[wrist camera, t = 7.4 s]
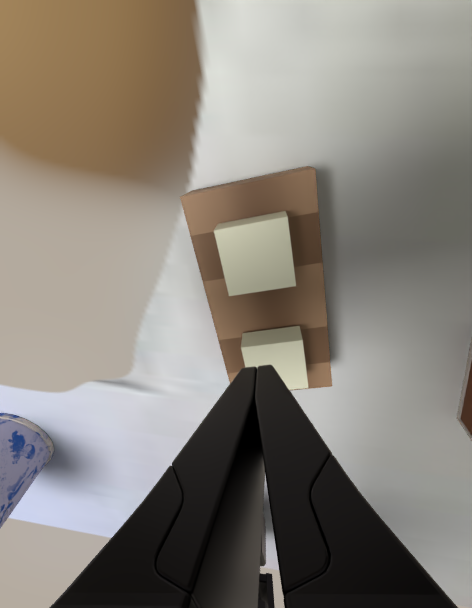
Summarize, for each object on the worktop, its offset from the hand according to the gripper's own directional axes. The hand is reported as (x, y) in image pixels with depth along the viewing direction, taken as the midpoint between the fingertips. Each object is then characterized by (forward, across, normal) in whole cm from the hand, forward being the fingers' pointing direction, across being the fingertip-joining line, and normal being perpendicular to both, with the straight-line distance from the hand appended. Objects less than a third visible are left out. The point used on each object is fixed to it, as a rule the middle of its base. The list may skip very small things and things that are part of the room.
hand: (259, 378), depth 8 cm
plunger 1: (+13, 0, -1) cm, 13 cm away
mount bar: (+13, 0, +3) cm, 13 cm away
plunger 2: (+13, 0, +6) cm, 14 cm away
